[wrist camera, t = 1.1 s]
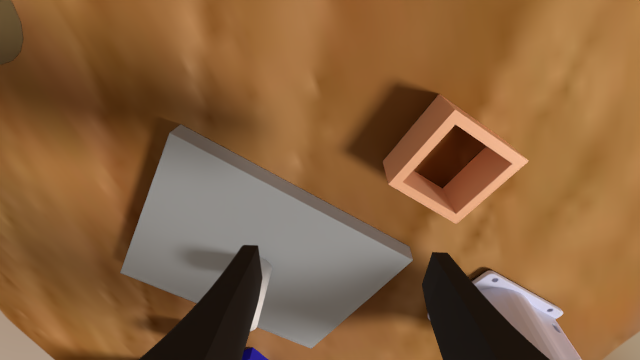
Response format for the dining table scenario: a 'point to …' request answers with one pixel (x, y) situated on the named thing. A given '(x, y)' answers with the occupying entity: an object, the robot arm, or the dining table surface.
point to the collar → (470, 181)
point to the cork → (9, 32)
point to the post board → (256, 240)
